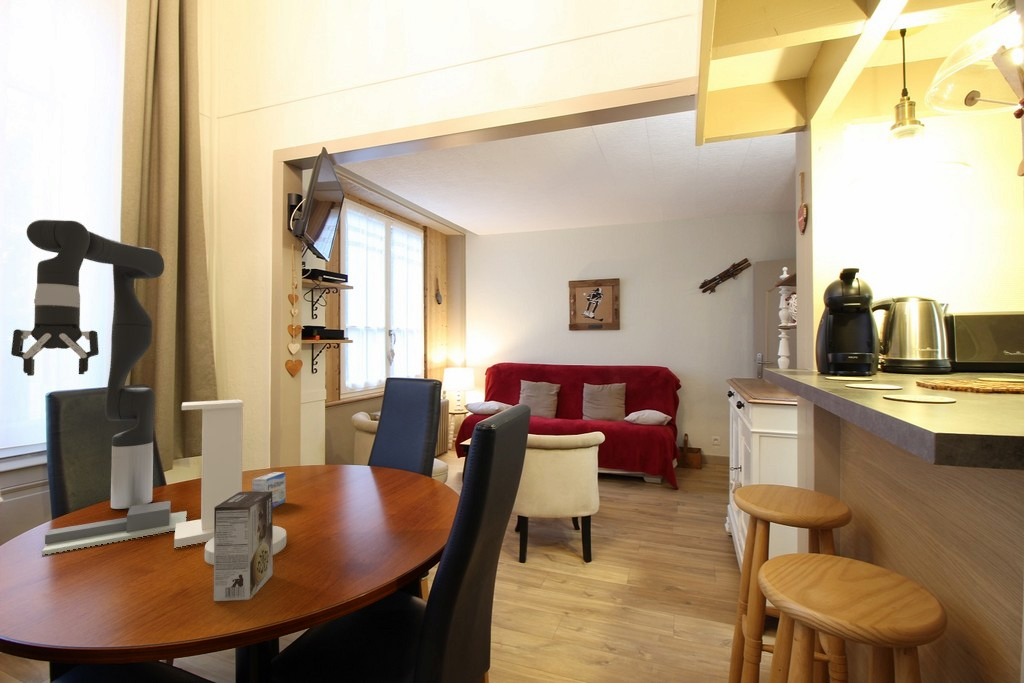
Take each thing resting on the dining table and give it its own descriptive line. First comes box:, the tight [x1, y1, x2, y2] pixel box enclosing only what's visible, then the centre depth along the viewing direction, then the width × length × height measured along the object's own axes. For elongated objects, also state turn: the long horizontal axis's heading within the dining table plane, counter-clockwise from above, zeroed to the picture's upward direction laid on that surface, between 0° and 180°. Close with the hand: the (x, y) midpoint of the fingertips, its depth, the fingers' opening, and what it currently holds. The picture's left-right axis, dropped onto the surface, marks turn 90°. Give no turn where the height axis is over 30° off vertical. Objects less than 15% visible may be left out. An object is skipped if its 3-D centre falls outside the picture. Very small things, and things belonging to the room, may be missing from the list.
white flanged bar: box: [173, 398, 244, 549], centre depth 110 cm, size 12×14×31 cm
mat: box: [41, 510, 188, 556], centre depth 110 cm, size 13×25×1 cm, turn 125°
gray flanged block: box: [44, 500, 172, 545], centre depth 109 cm, size 8×22×4 cm, turn 125°
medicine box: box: [252, 471, 286, 508], centre depth 129 cm, size 8×4×9 cm, turn 168°
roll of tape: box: [204, 525, 287, 566], centre depth 100 cm, size 16×15×3 cm
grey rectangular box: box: [213, 490, 274, 602], centre depth 83 cm, size 9×6×16 cm
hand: (56, 374), depth 107 cm, fingers open, 8 cm apart
